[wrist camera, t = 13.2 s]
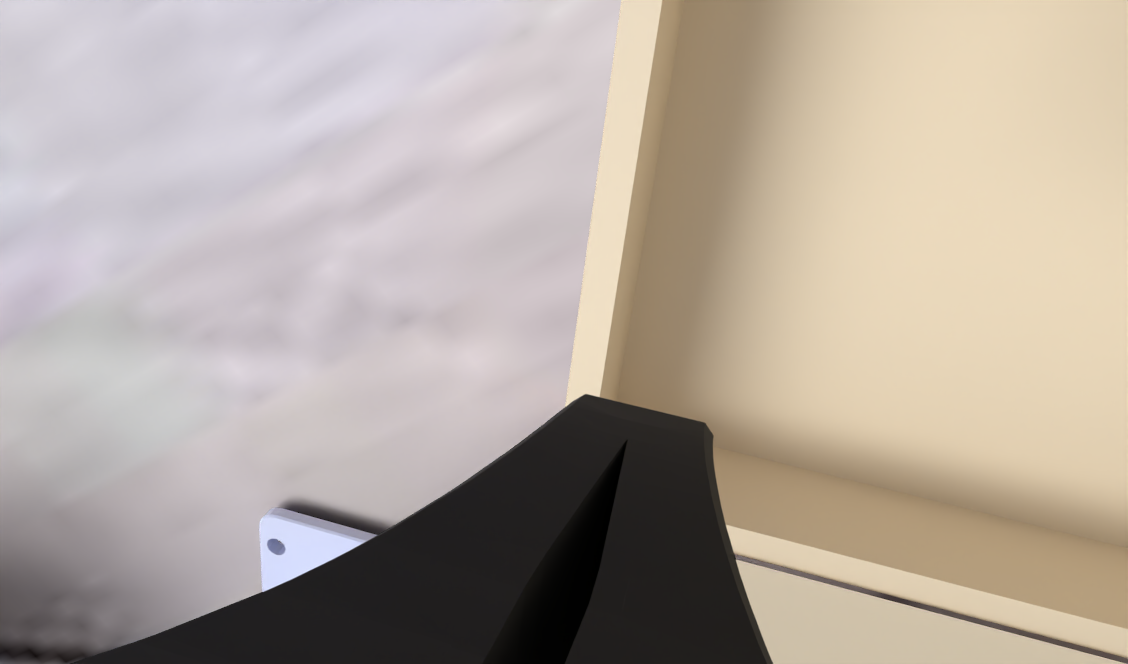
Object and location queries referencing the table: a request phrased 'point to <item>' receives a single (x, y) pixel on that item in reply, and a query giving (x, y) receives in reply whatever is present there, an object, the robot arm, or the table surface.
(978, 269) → the carton
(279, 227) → the table surface
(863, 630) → the flap
